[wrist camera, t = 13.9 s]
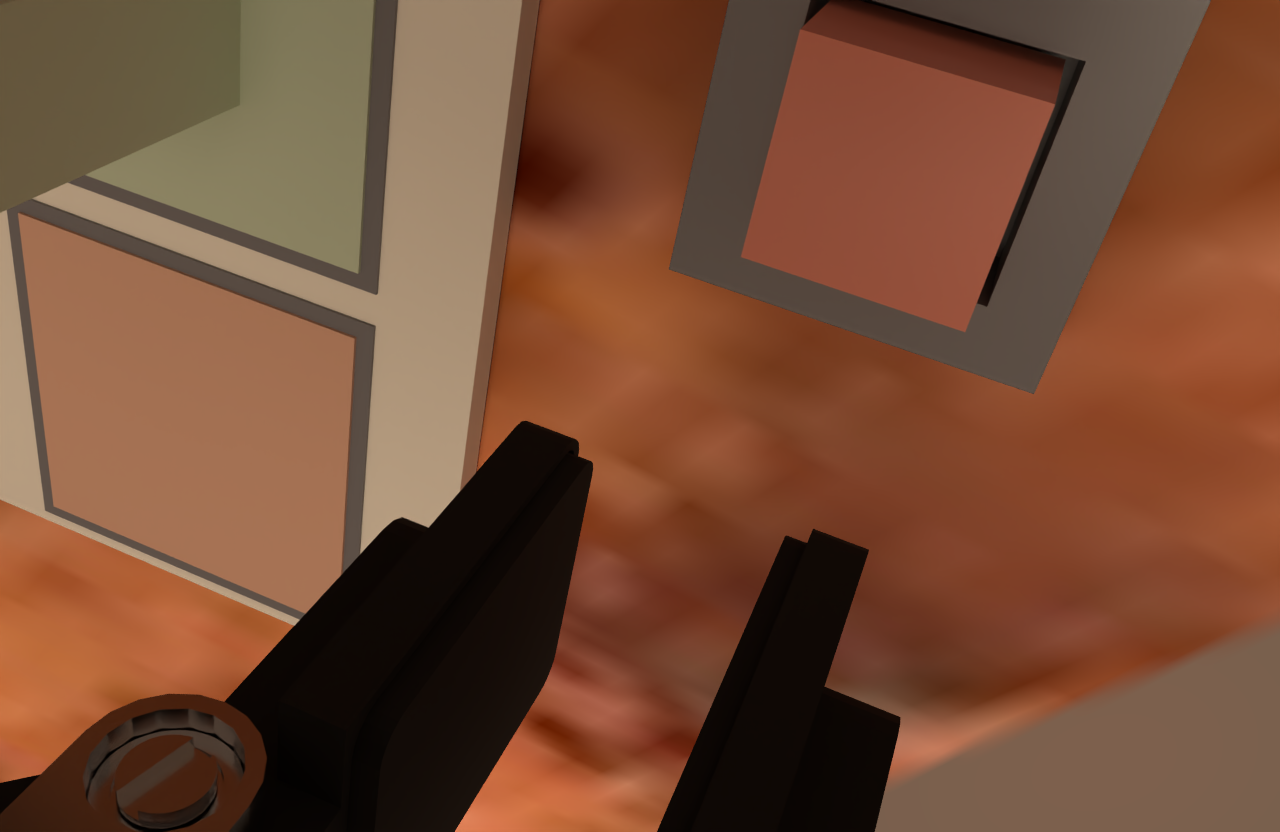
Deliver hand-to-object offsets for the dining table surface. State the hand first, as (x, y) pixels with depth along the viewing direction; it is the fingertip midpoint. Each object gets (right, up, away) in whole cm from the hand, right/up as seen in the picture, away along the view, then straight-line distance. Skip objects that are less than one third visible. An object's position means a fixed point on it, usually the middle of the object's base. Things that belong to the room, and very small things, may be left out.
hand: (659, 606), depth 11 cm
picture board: (-12, +7, +22) cm, 26 cm away
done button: (+5, +7, +12) cm, 15 cm away
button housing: (+6, +8, +14) cm, 17 cm away
